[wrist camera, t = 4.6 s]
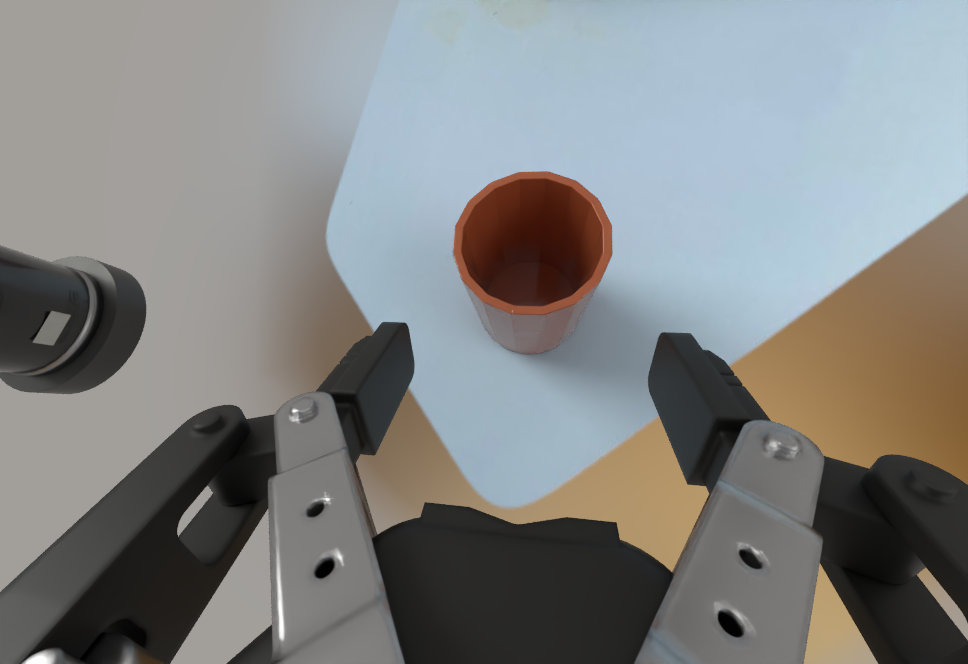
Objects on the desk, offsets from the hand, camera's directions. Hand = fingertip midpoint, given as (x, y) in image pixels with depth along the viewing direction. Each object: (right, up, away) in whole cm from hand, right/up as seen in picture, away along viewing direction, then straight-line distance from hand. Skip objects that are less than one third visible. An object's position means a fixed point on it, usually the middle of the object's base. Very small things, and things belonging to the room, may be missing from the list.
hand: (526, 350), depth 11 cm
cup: (+1, +2, +10) cm, 11 cm away
